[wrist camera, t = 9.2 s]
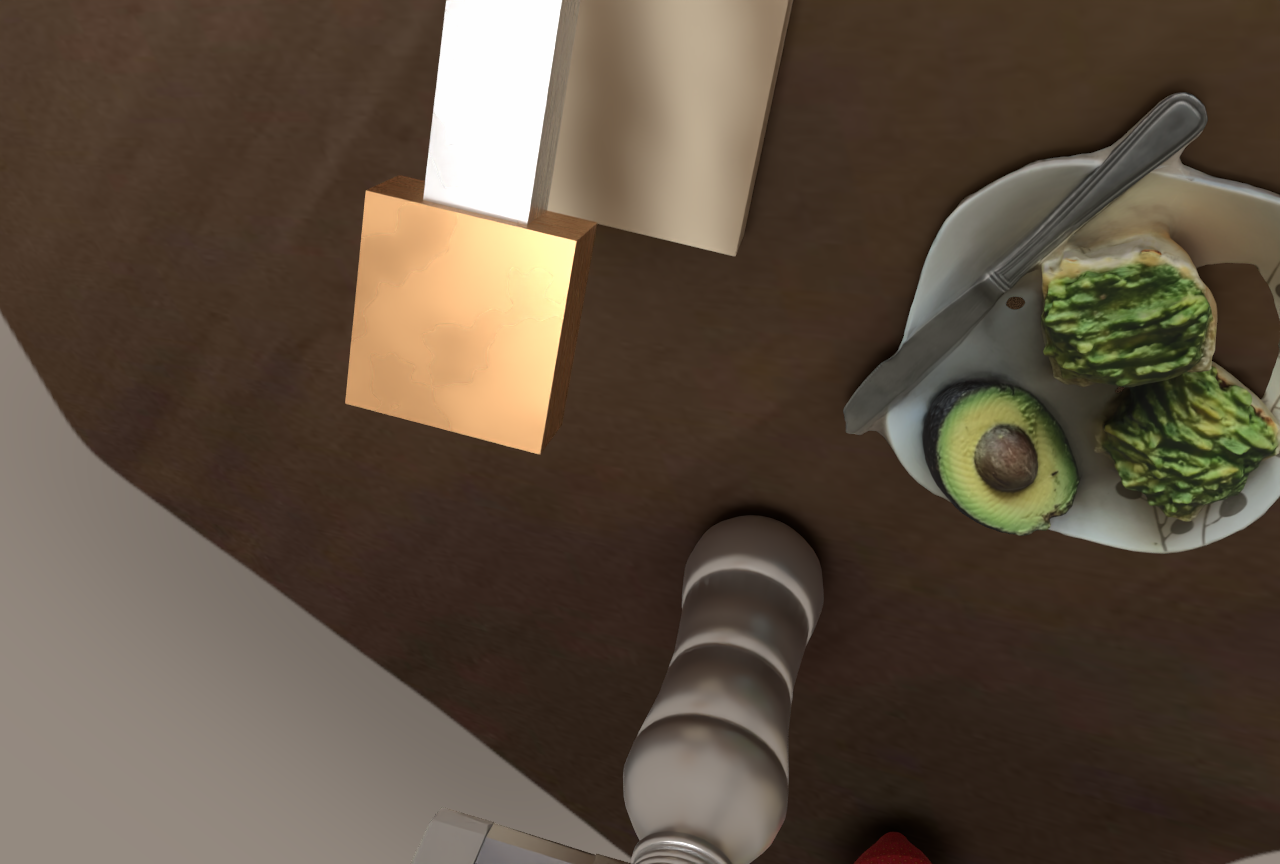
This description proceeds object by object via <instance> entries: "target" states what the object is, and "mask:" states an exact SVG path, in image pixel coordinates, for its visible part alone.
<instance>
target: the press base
mask: <svg viewBox="0 0 1280 864" xmlns="http://www.w3.org/2000/svg"><path fill="white" fill-rule="evenodd" d="M792 3H793V0H581V1H580V7H579V13H578V19H577V26H576V32H575V38H574V45H573V51H572V57H571V64H570V70H569V76H568V82H567V89H566V95H565V101H564V108H563V114H562V120H561V127H560V133H559V139H558V146H557V152H556V158H555V164H554V171H553V177H552V183H551V190H550V196H549V202H548V209H547V211H552V212H556V213H560V214H564V215H568V216H573V217H577V218H581V219H585V220H589V221H594V222H597V224H601V225H605V226H610V227H614V228H618V229H622V230H626V231H630V232H635V233H639V234H643V235H647V236H651V237H656V238H660V239H664V240H668V241H672V242H677V243H681V244H685V245H689V246H693V247H697V248H702V249H706V250H710V251H714V252H718V253H723V254H727V255H731V256H736V254H737V251H738V249H739V246H740V244H741V241H742V239H743V237H744V233H745V228H746V223H747V218H748V213H749V209H750V204H751V199H752V194H753V190H754V185H755V180H756V175H757V170H758V166H759V161H760V156H761V151H762V147H763V142H764V137H765V132H766V127H767V123H768V118H769V113H770V108H771V104H772V99H773V94H774V89H775V84H776V80H777V75H778V70H779V65H780V61H781V56H782V51H783V46H784V41H785V37H786V32H787V27H788V22H789V18H790V13H791V8H792Z"/></svg>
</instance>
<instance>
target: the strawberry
mask: <svg viewBox="0 0 1280 864" xmlns="http://www.w3.org/2000/svg"><path fill="white" fill-rule="evenodd" d="M854 864H932V863H931V862H930V861H929V859H928V858H927V857H926V856H925V855H924V854H923V852H922V851H920V850H919V849H918V848H916V847H915V846H914V845H912V844H911V843H910V842H909V841H908V840H907V839H906V837H905V836H904V835H902V834H901V833H899V832H889V833H886V834H885V835H883V836H882V837H881V838H880V839H879V840H878V841H877V842H876V843H875V844H874V845H872V846H871V847H870V848H869V849H867V850H866V851H865V852H864V853H863V854H862V855H861V856H860V857H859V858H858V859H857V860H856V862H855V863H854Z"/></svg>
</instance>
